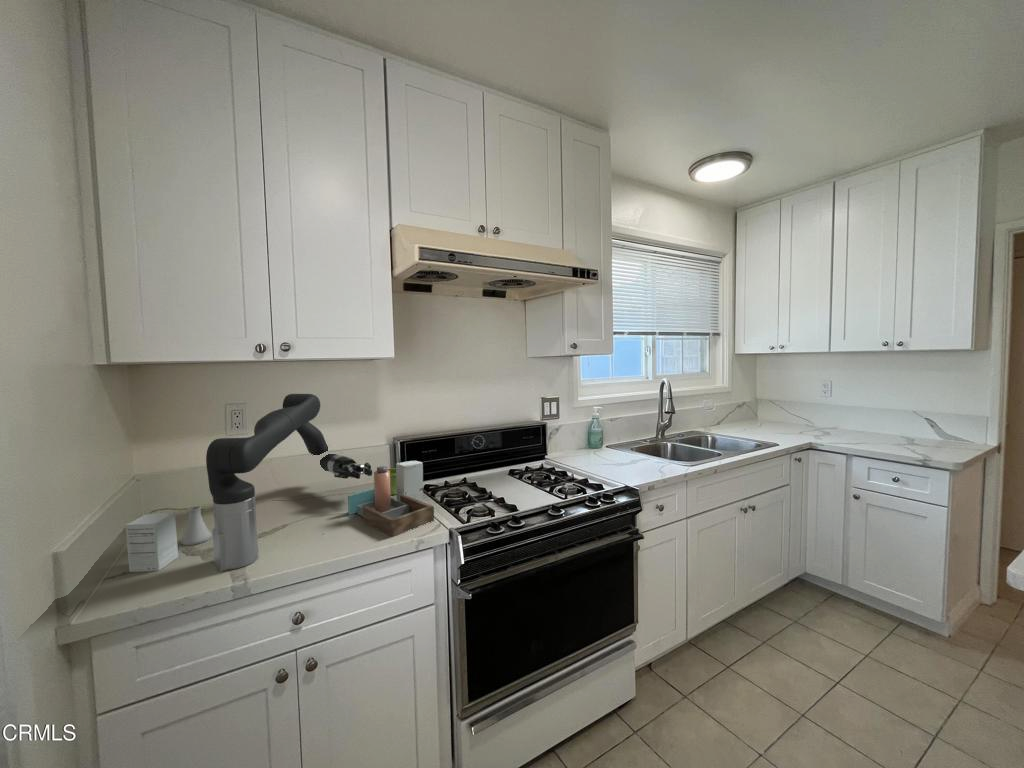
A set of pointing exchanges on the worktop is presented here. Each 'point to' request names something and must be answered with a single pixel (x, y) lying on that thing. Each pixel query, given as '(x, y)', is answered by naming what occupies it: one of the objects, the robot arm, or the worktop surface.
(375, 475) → the bottle
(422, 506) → the wooden storage box
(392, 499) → the tray
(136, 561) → the supplement box
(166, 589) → the worktop surface
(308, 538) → the worktop surface
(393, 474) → the plant pot
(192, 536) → the flask
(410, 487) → the skincare box
